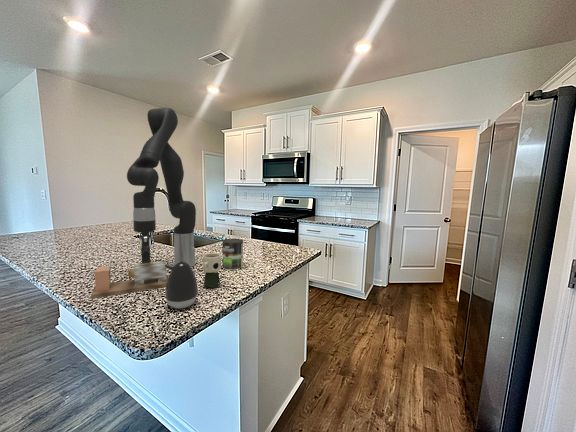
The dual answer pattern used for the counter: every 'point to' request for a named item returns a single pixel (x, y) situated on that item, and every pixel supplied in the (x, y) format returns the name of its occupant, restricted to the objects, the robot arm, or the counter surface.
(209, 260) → the character mug
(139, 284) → the sleeve stand
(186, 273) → the dark grey egg-shaped piece
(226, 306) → the counter surface
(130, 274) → the gold and grey t-piece
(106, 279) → the socket block
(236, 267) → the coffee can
